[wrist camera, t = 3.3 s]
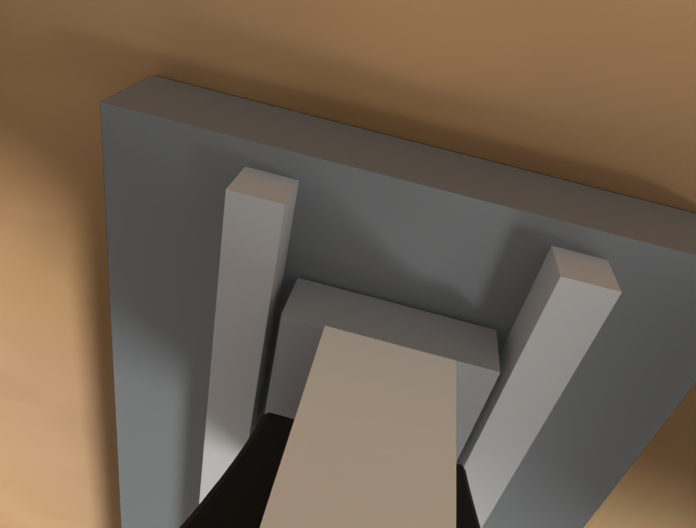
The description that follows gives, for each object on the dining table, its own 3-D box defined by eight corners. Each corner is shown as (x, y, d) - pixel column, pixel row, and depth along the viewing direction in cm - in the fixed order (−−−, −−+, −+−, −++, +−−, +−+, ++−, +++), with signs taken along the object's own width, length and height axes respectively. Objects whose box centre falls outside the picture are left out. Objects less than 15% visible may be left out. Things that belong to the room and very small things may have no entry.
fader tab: (496, 329, 11) (533, 714, 6) (426, 483, 13) (407, 837, 8) (297, 277, 11) (152, 606, 6) (267, 440, 14) (151, 763, 8)
